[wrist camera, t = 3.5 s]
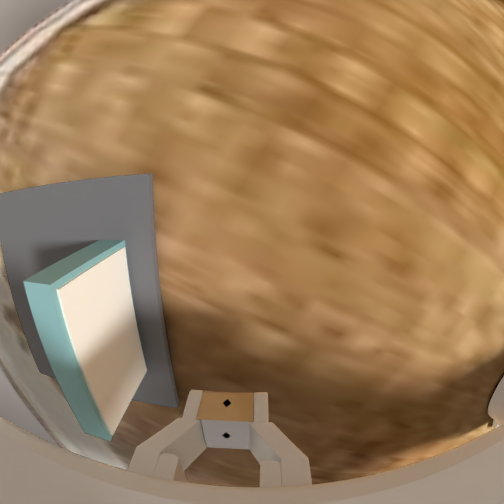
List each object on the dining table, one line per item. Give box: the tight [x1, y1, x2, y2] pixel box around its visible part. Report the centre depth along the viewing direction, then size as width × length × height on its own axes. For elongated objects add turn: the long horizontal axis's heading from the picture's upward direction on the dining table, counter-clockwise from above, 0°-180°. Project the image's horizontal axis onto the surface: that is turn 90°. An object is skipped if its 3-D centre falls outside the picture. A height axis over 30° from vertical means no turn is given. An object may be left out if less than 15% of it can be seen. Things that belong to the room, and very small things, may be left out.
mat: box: [0, 173, 179, 408], centre depth 16 cm, size 14×16×1 cm
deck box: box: [23, 240, 147, 441], centre depth 13 cm, size 2×9×6 cm, turn 179°
